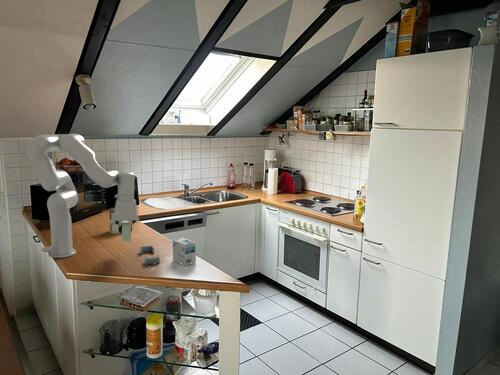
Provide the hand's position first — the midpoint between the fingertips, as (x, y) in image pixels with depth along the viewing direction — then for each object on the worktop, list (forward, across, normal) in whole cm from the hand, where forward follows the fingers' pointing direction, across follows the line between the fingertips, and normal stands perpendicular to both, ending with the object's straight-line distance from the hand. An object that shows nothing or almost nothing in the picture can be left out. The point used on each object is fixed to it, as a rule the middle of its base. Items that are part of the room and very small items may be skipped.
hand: (125, 232), depth 192 cm
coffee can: (+13, +1, +47) cm, 49 cm away
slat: (+2, 0, 0) cm, 2 cm away
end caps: (+12, +11, -6) cm, 17 cm away
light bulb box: (+11, +26, -17) cm, 33 cm away
